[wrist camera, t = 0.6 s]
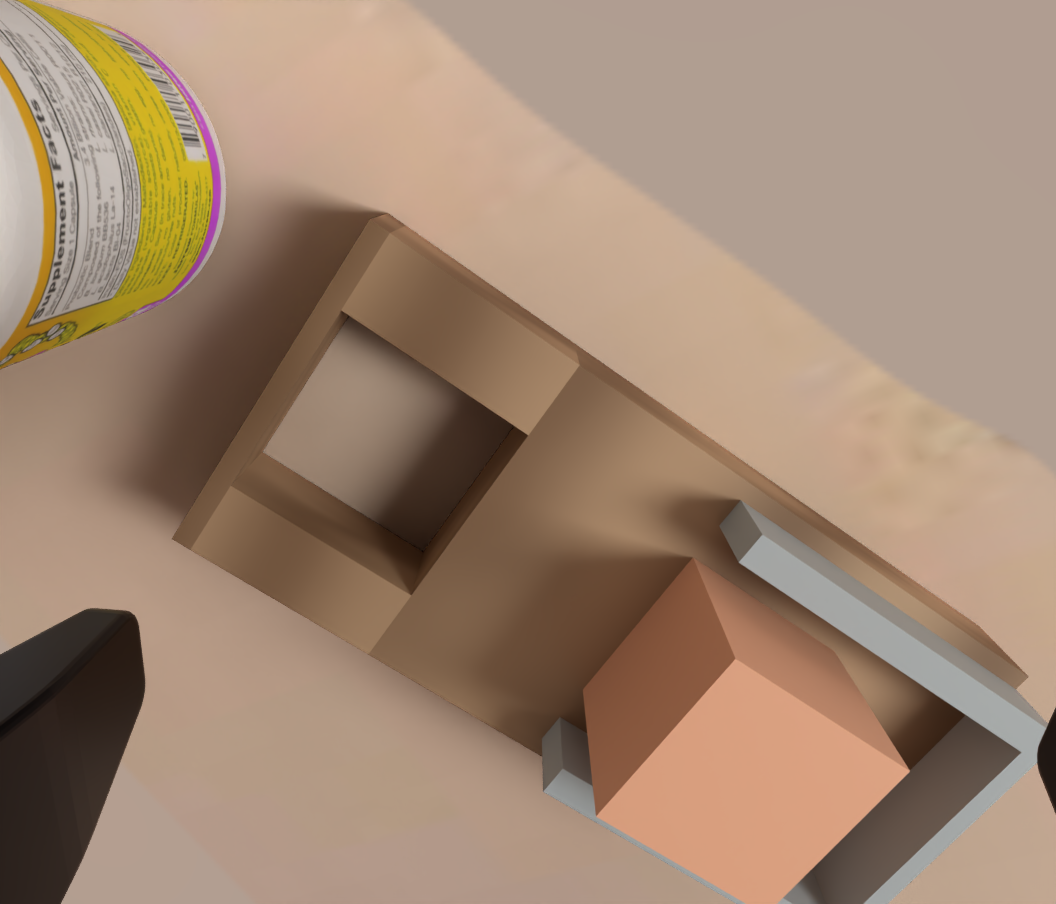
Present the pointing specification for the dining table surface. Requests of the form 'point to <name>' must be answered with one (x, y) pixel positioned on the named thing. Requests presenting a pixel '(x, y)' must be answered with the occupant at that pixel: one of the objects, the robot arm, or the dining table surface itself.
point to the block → (733, 740)
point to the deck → (529, 517)
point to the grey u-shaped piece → (931, 785)
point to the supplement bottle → (95, 179)
